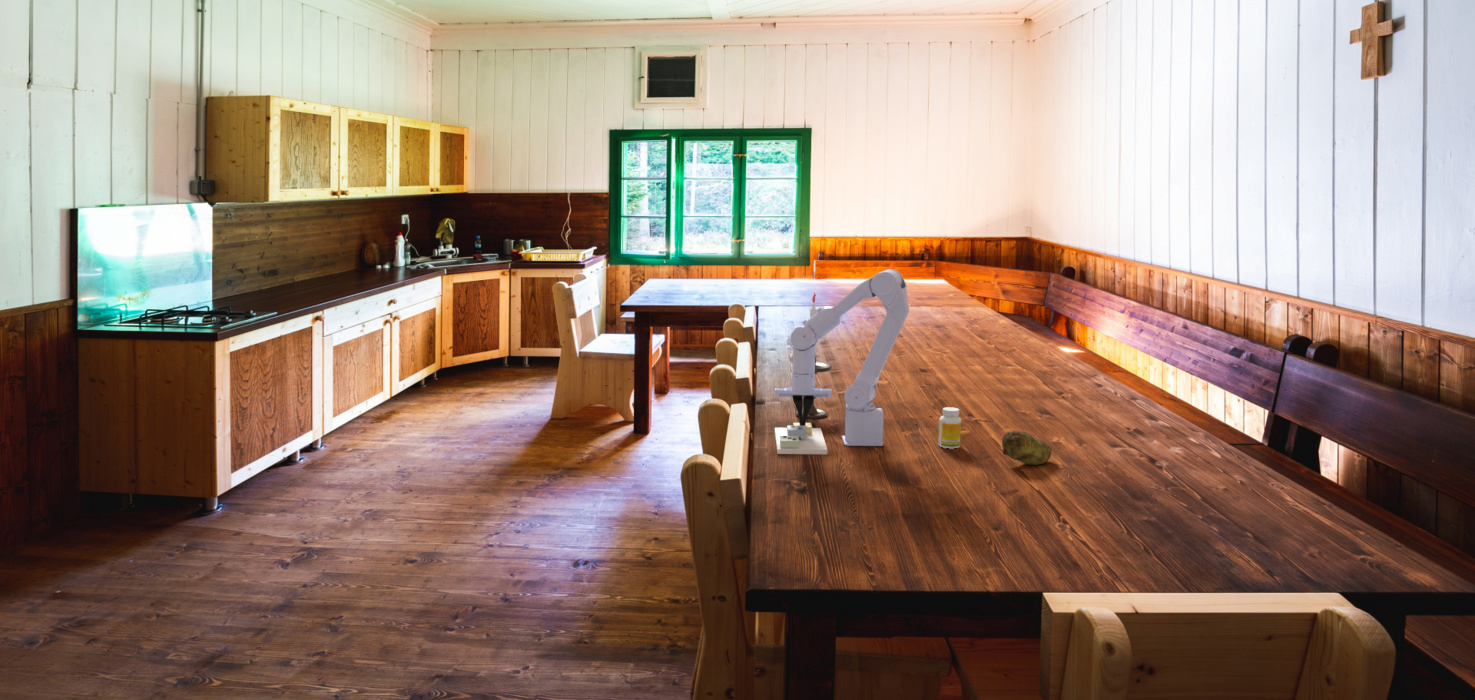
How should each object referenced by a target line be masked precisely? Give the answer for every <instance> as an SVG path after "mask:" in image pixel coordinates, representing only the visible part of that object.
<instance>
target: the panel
mask: <svg viewBox="0 0 1475 700" xmlns="http://www.w3.org/2000/svg"><path fill="white" fill-rule="evenodd" d="M780 436H787V427H774V437H775V447H776V451H777V453H776V454H778V455H828V447H827V444H826V441H825V438H824V435H823V431H822V428H821V427H812V434H806V437H799V448H781V447H780Z"/></svg>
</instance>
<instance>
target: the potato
mask: <svg viewBox="0 0 1475 700" xmlns="http://www.w3.org/2000/svg"><path fill="white" fill-rule="evenodd" d="M1001 444H1002V450H1003V451H1002V453H1003V454H1004V455H1005V456H1007V457H1009V458H1010V459H1011V460H1014V461H1018V462H1021V463H1023V464H1026V465H1029V466H1031V465H1033V466H1040V465H1042V464H1045V463H1046V462H1048V461H1049V460H1050V458H1051V457H1052V451H1053V450H1052V447H1051V446H1050V444H1048V443H1047V442H1046V441H1043V440H1041V439H1038V438H1036V437H1034V436H1032V434H1030V433H1028V432H1026V431H1022V430H1012V431H1009V432H1007V433H1004V435H1003V436H1002V439H1001Z"/></svg>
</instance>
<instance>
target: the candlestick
mask: <svg viewBox="0 0 1475 700" xmlns="http://www.w3.org/2000/svg"><path fill="white" fill-rule="evenodd" d="M813 292H814V291H813ZM816 296H817V295H816V292H814V293H813V296H812V299H811V300H812V306H811V307H810V310H809V319H810V318H811V317H812V316H814V315H815V314H816V313H817V311H816V310H817V309H818V308H817V307H816V303H815V302H816ZM819 357H820V355H818V354H817V343H816V344H815V375H817V374H818V373H825V372H830V371H832V369H833V367H832V364H830V363H828V362H822V361H817V358H819ZM814 388H817V387H816V386H814ZM816 398H817V397H814V400H816ZM794 414H795V417H797V416H798V418H799V415H798V411H797V409H795V413H794ZM802 415H803V410H802ZM826 416H827V417H828V411H827V410H825V409H822V408H816V406H815V401H814V402H813V404H812V406H811V408H810V410H809V413H808V416H807V418H812V419H811V420H816V419H817V418H818V419H817V420H819V418H820V419H824V417H825V418H827V417H826Z"/></svg>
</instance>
